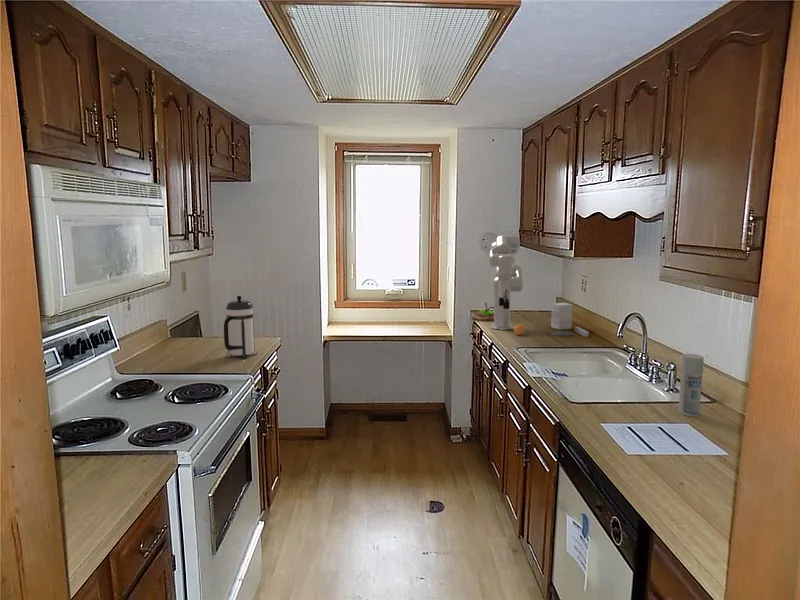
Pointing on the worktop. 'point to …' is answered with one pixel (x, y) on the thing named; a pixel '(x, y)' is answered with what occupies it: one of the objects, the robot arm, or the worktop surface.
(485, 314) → the plant
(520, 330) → the ball
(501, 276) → the robot arm
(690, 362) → the spray can
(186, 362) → the worktop surface
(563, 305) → the supplement box
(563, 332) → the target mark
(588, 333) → the stopper wall
